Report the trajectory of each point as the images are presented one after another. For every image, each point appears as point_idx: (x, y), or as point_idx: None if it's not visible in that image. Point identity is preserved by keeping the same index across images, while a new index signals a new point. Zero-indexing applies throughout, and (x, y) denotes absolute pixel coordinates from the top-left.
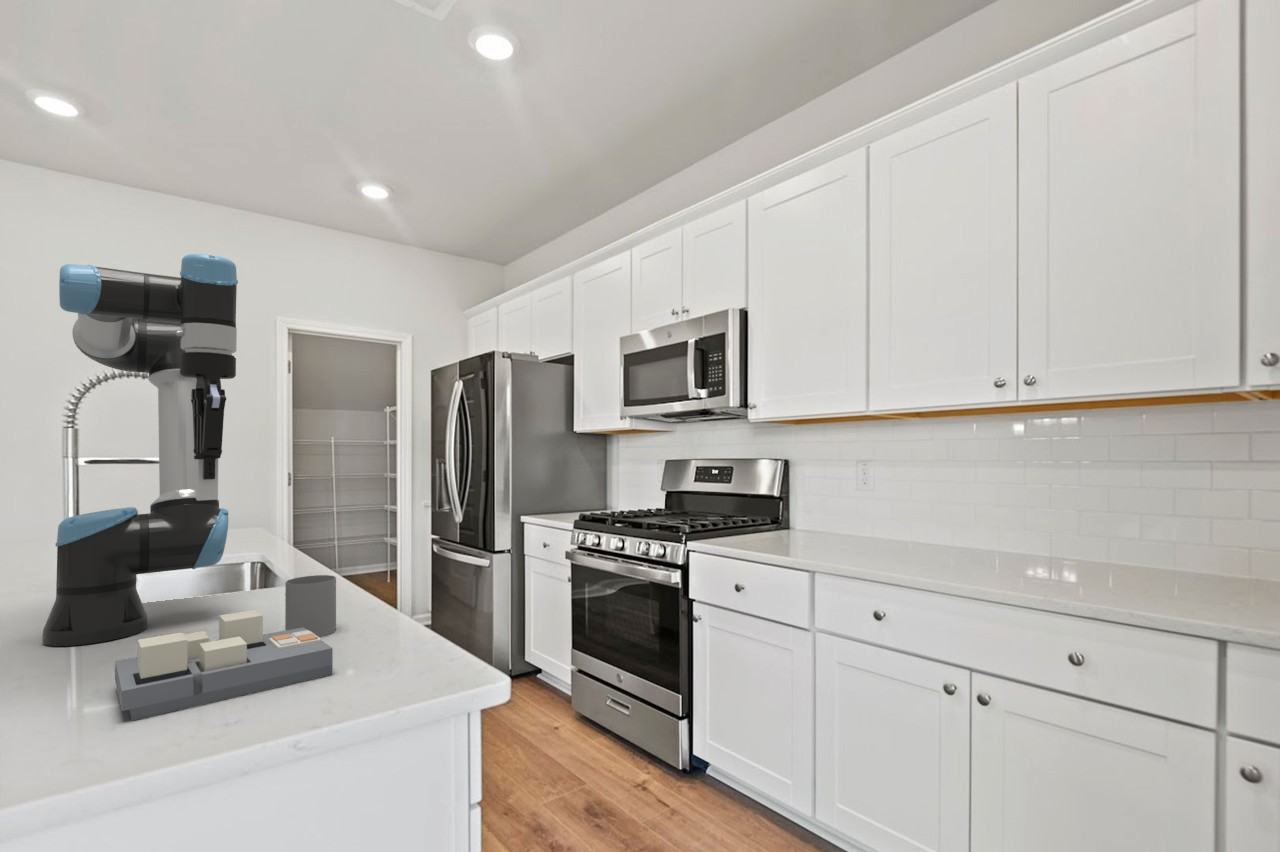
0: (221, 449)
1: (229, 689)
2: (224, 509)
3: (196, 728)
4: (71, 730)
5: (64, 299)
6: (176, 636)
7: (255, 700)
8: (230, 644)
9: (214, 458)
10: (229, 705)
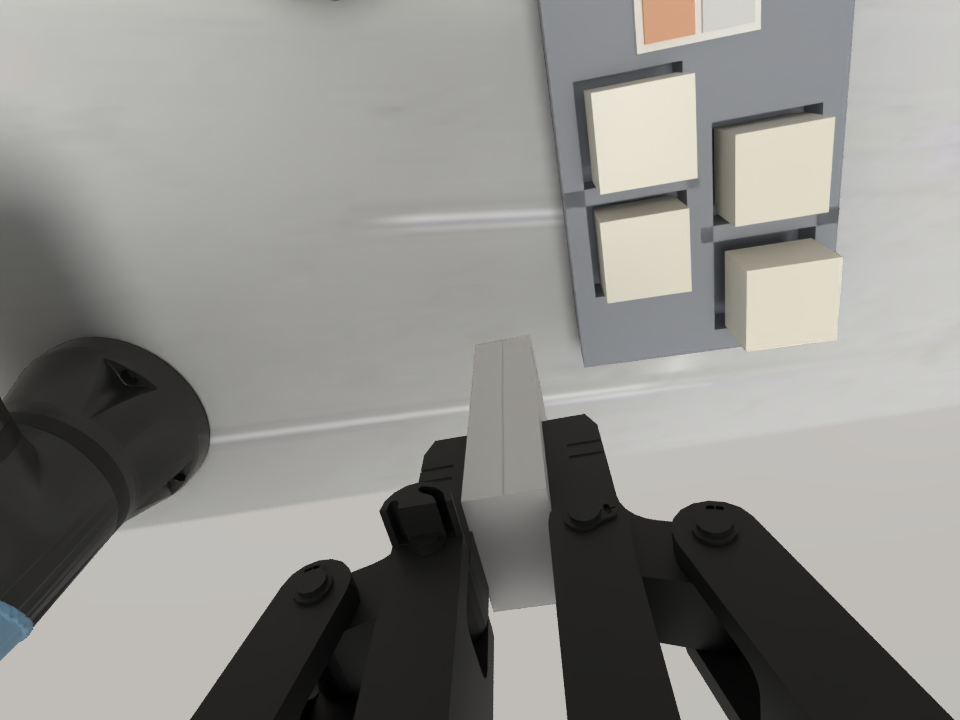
0: (774, 538)
1: None
2: None
3: (946, 196)
4: (775, 373)
5: None
6: (783, 281)
7: (871, 90)
8: (808, 156)
9: (633, 518)
10: (859, 142)
